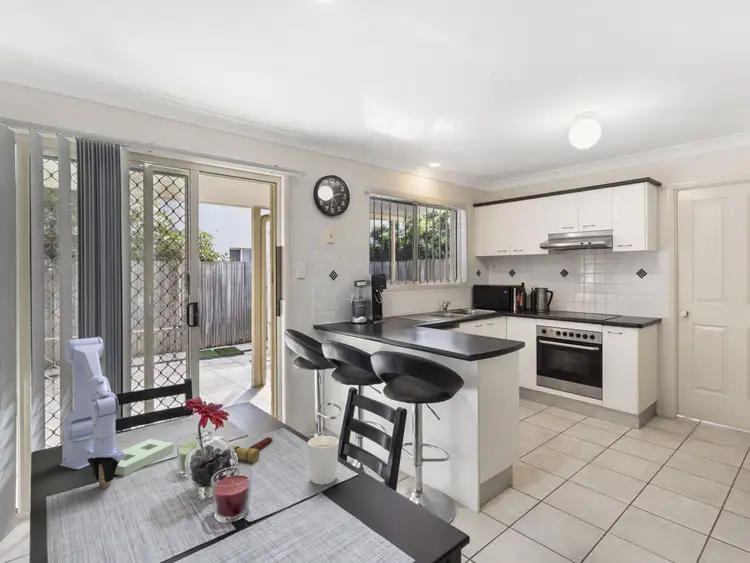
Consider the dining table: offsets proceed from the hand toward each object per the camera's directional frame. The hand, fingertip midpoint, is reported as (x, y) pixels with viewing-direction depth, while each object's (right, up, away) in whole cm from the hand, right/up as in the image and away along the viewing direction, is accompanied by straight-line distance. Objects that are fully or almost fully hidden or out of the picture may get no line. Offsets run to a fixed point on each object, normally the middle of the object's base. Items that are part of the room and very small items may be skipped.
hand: (104, 479), depth 127 cm
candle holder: (+67, -2, +5) cm, 67 cm away
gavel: (+40, -2, +26) cm, 48 cm away
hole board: (0, -2, +18) cm, 18 cm away
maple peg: (0, -2, 0) cm, 2 cm away
